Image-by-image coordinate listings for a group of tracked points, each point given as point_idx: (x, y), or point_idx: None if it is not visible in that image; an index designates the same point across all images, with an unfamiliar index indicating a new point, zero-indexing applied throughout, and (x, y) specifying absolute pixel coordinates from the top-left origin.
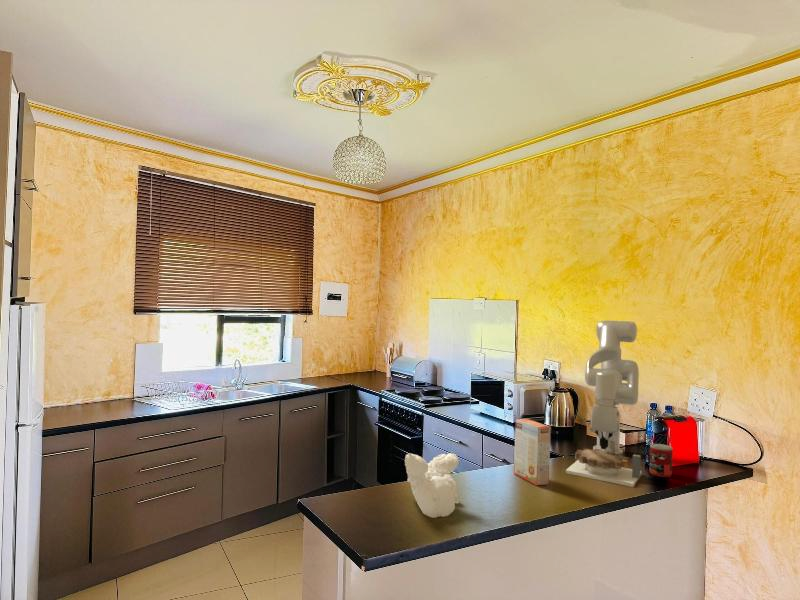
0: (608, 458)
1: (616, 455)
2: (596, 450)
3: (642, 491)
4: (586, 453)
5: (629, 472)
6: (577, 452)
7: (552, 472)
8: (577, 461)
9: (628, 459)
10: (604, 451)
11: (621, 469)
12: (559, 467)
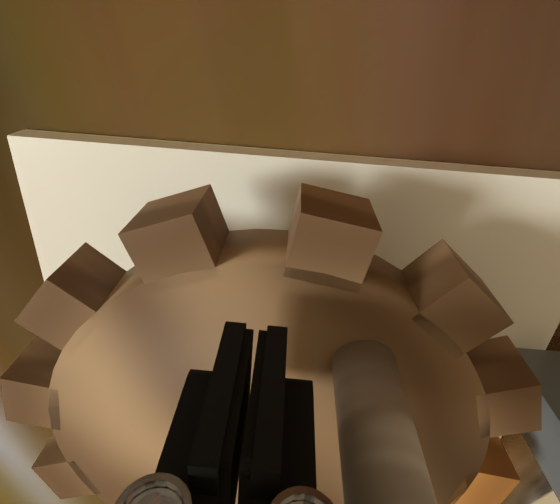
0: (337, 501)
1: (414, 386)
2: (164, 307)
3: (509, 493)
4: (126, 461)
5: (492, 289)
6: (50, 468)
7: (39, 451)
8: (41, 224)
9: (534, 422)
10: (262, 294)
11: (430, 243)
12: (9, 356)
